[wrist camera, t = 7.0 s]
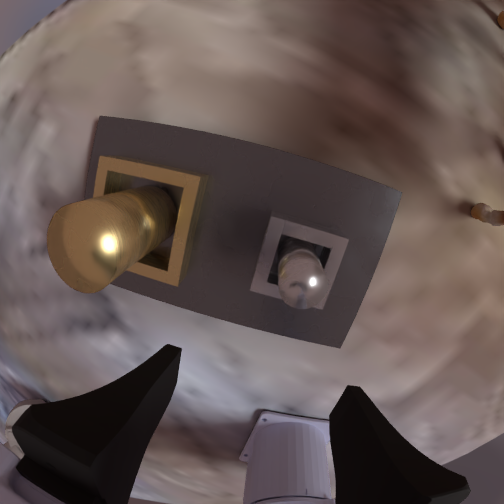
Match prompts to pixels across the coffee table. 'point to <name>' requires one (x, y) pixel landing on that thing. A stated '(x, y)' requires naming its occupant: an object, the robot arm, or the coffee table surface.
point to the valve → (11, 419)
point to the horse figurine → (481, 209)
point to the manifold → (249, 228)
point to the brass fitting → (108, 235)
